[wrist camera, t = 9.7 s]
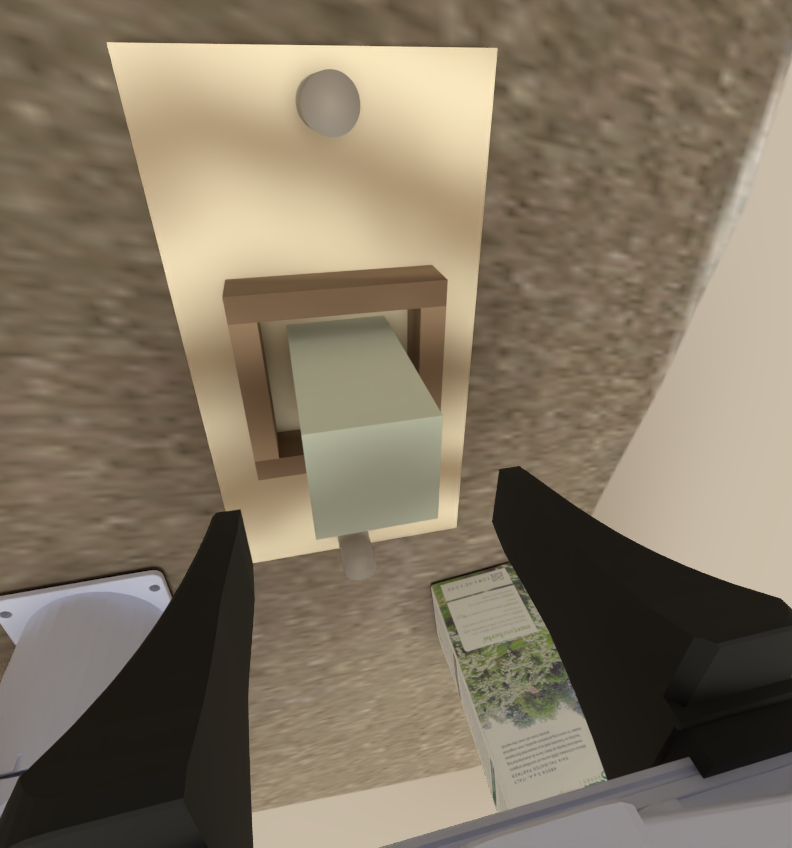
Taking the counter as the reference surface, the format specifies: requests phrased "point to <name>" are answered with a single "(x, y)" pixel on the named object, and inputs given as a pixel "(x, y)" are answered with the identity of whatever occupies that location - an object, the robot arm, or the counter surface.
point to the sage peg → (364, 427)
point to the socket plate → (311, 240)
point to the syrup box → (513, 689)
